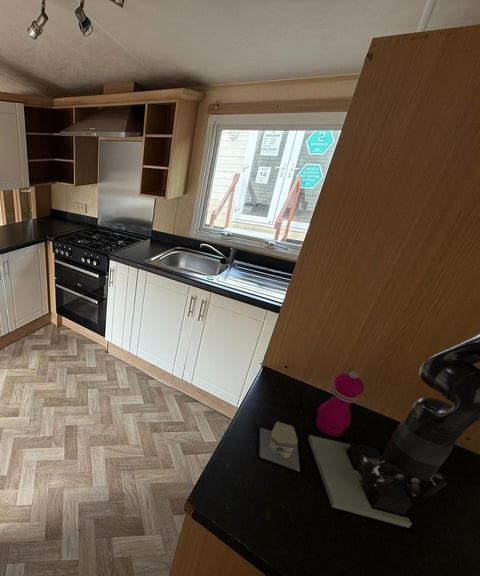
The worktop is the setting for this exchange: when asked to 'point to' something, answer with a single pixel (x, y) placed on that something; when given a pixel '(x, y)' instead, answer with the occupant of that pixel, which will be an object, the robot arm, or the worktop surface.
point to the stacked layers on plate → (280, 445)
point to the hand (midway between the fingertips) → (383, 497)
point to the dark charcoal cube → (358, 450)
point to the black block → (391, 498)
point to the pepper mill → (339, 404)
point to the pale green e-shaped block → (346, 481)
